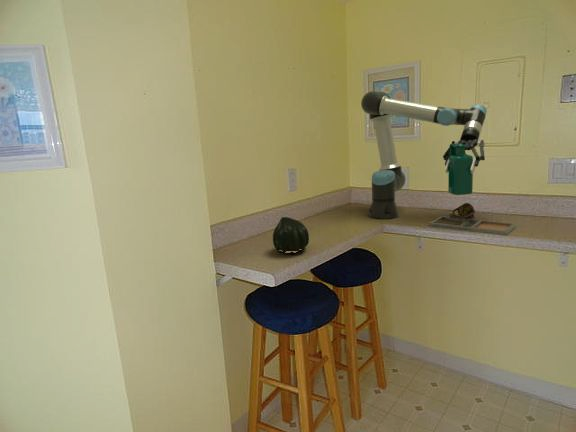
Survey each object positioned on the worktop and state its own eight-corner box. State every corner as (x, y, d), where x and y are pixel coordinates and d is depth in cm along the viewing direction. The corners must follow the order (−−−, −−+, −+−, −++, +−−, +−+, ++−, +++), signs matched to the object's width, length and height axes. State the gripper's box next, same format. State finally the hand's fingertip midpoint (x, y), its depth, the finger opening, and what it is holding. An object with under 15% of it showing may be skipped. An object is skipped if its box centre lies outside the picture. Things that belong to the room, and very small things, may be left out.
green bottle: (474, 193, 172) (475, 143, 167) (455, 195, 171) (456, 145, 166) (463, 190, 181) (463, 142, 176) (445, 192, 181) (445, 144, 176)
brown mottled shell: (481, 208, 186) (470, 200, 195) (456, 208, 184) (446, 200, 193) (477, 222, 189) (466, 213, 198) (452, 221, 187) (443, 213, 196)
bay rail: (428, 225, 181) (428, 222, 180) (441, 218, 192) (441, 216, 191) (506, 235, 159) (506, 231, 159) (515, 226, 171) (515, 223, 170)
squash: (322, 237, 153) (300, 207, 157) (297, 248, 143) (275, 216, 147) (303, 254, 163) (283, 226, 166) (279, 266, 152) (258, 236, 156)
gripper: (499, 137, 175) (488, 177, 167) (447, 139, 190) (435, 176, 182) (496, 126, 170) (485, 166, 162) (444, 129, 185) (430, 165, 177)
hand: (458, 171), depth 172 cm, fingers closed on green bottle, 10 cm apart
